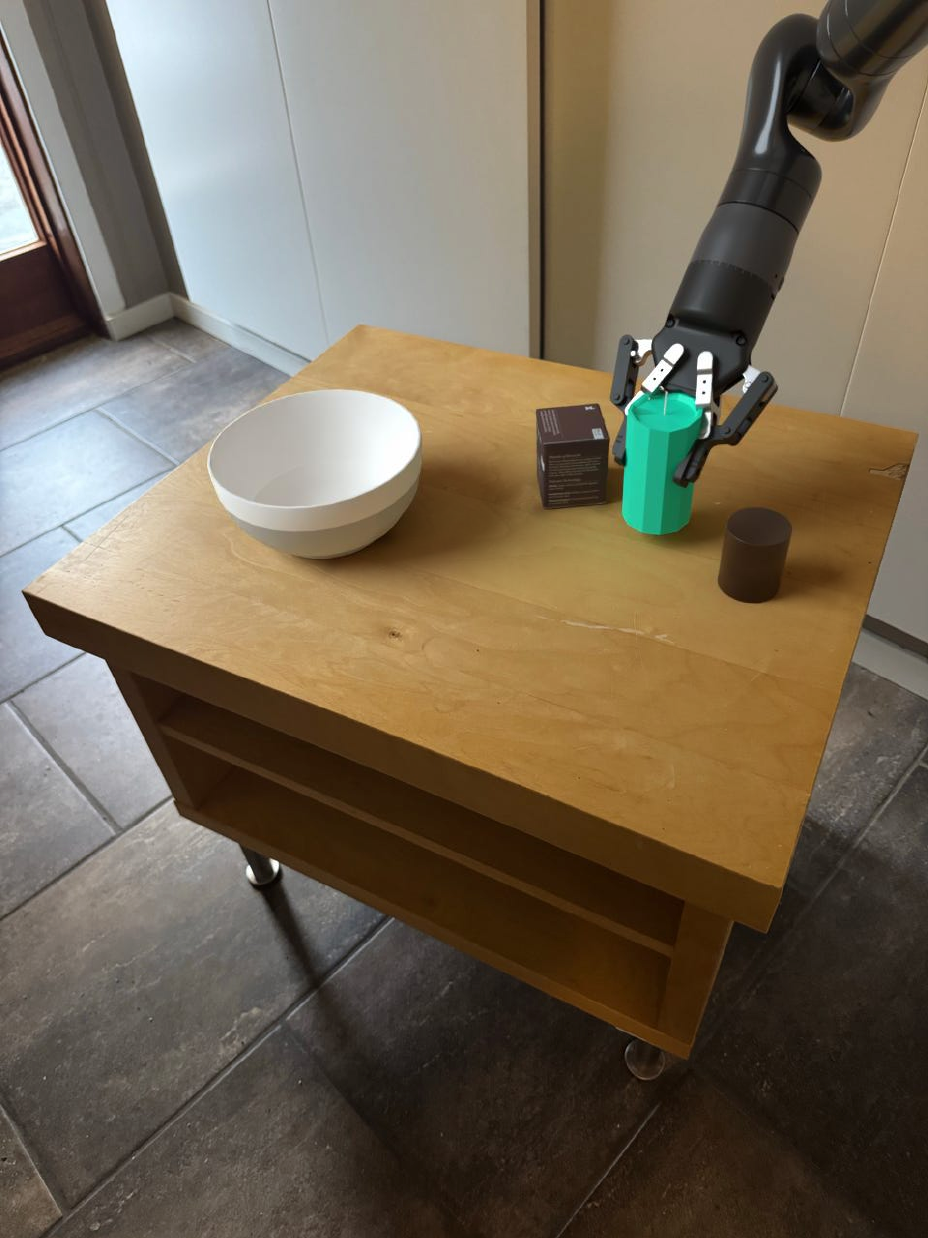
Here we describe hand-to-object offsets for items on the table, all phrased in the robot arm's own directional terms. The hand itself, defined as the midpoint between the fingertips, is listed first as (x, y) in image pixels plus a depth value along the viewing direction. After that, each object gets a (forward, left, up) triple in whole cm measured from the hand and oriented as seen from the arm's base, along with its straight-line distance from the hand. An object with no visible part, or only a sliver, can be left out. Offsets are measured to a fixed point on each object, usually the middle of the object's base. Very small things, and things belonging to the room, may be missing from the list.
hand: (650, 473), depth 77 cm
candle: (0, -2, -6) cm, 6 cm away
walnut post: (-10, -2, -7) cm, 12 cm away
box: (+10, -2, -8) cm, 13 cm away
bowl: (+23, +17, -8) cm, 30 cm away
